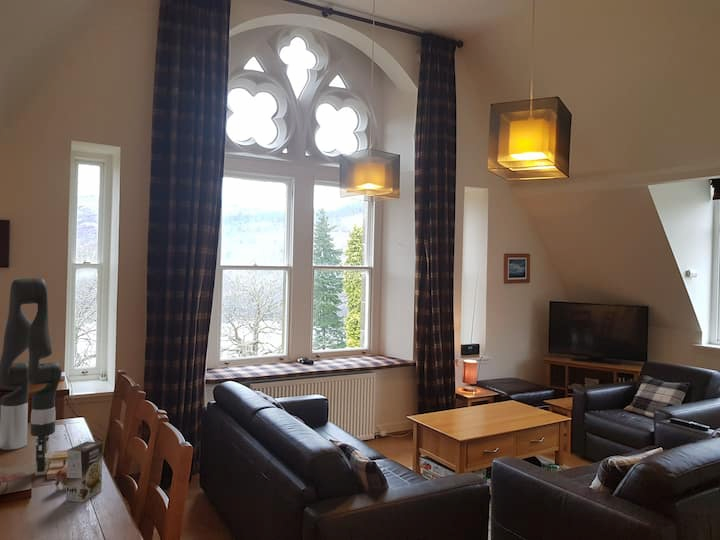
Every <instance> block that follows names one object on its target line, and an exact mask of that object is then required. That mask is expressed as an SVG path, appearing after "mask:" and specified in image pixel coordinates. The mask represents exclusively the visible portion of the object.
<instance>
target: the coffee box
mask: <svg viewBox="0 0 720 540" xmlns="http://www.w3.org/2000/svg"><path fill="white" fill-rule="evenodd" d="M67 450H68V457H67V481H66V487H65V490H66V491H65V501H68V502H76V503H84V502H87V501H88V500H89V499H91V498H93V497H95V496H96V495H98V494H99V493H101V492H102V483H103V482H102V480H103V454H104V451H103V450H104V442H102V441H101V442H100V441H99V442H98V441H84V442H82V443H80V444H77V445H75V446H72V447H70V448H68V449H67Z"/></svg>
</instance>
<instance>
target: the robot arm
mask: <svg viewBox="0 0 720 540" xmlns="http://www.w3.org/2000/svg"><path fill="white" fill-rule="evenodd" d="M48 295H49V294H48V287H47V284H46V281H45V279H43V278H40V277H36V278H35V277H34V278H33V277H32V278H17V279H14V280H13V281H12V282H11V285H10V289H9V303H8V316H7V322H6V325H5V326H6V327H5V329H4V330H5V331H4V338H3V346H2V353H1V356H0V388H13V387H17V388H16V389H15V390H13V391H12V392H10V393H8V394H5V395H3V396H2V397H1V399H0V450H7V451H9V450H18V449H22V448H25V447H26V446H27V445H28V415H29V412H28V411H29V386H30V384H31V385H33V386H37V385H43V384H45V386H44V387H43V388H42V389H39V390H36V391H34V392H33V393H32V397H31V399H32V400H31V412H30V433H29V434H30V436H32V437H37V438H36V440H35V444H34V445H35V462H36V461H37V472H43V471H44V470H45V459H46V458H45V454H46V453H48V451H49V449H50V448H49V446H50V437H49V436H50V435H53V434H55V432H56V393H57V392H58V391H57V390H58V386H59V384H60V381H61V378H62V373H63V371H62V367H61V365H60V364H59V363H58V362H47V363H45V362H44V363H40V360H43V359H47V358H48V357H50V356H51V355H52V354H53V348H52V342H51V337H50V330H49V328H50V327H49V300H48V299H49V298H48V297H49V296H48ZM27 304H28V305H30V304H37V312H36V315H35V317H34V319H33V321H31V320H30V318H28V316H26V314H25V313H24V311H23V310H22V305H27ZM27 349H28V356H29V357H28V362H24V361H23V362H14V361H16V359H18V358H19V357H20V356H21V355H22V354H23V353H24V352H25V351H26V350H27ZM48 454H49V453H48ZM39 455H43V457H39Z"/></svg>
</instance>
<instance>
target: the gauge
mask: <svg viewBox="0 0 720 540" xmlns="http://www.w3.org/2000/svg"><path fill="white" fill-rule="evenodd" d="M39 457H43V455H39ZM67 457H68V455H66V456H56V457H52V456H49V453H46V454H45V458H46V459H45V470H44V471H43V472H37V461H36V460H35V464H34V465H35V466H34V467H35V469H34V470H35V472H34V473H35V474H34V476H41V475H42V476H43V475H47V472H48V469H49V462H50V463H51V461H61V460H63V465H66V460H67Z"/></svg>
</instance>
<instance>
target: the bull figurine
mask: <svg viewBox="0 0 720 540" xmlns="http://www.w3.org/2000/svg"><path fill="white" fill-rule="evenodd" d="M55 477H56V479H55V481H56V482H55V483H54V485H55V491H56V490H57V492H59V491H60V488H59V484H60V485H61V488H62V489H64V488H66V481H67V467H65V468H62V469H60V470H59V471H57V473H56V475H55ZM58 490H59V491H58Z"/></svg>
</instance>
